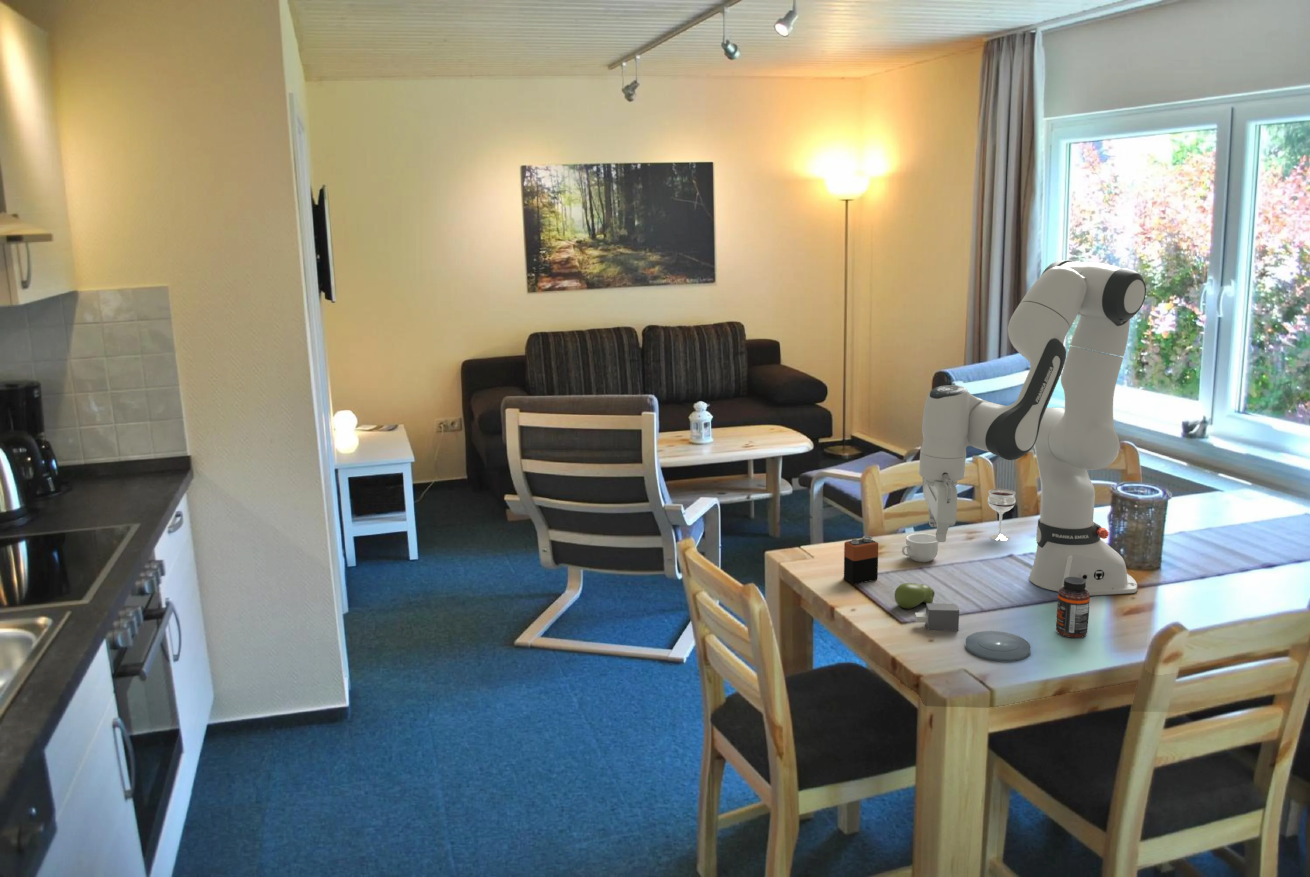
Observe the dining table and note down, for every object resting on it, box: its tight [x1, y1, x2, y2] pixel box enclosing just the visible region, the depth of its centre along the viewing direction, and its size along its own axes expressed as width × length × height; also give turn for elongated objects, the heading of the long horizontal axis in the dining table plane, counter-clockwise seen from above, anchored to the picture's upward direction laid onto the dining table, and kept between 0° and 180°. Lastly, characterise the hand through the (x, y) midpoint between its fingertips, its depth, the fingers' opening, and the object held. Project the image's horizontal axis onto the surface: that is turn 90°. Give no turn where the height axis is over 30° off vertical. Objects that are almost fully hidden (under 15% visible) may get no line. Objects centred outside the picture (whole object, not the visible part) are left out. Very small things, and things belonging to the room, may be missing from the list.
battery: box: [843, 535, 879, 585], centre depth 239 cm, size 4×7×10 cm, turn 113°
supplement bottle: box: [1055, 577, 1091, 639], centre depth 207 cm, size 6×6×11 cm
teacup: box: [901, 532, 940, 563], centre depth 252 cm, size 10×8×5 cm
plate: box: [965, 630, 1032, 662], centre depth 202 cm, size 12×12×1 cm
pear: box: [894, 582, 935, 610], centre depth 224 cm, size 6×5×10 cm
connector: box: [914, 603, 960, 632], centre depth 212 cm, size 8×4×4 cm, turn 84°
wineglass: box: [987, 488, 1016, 541], centre depth 266 cm, size 7×7×12 cm
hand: (936, 533), depth 210 cm, fingers open, 8 cm apart
